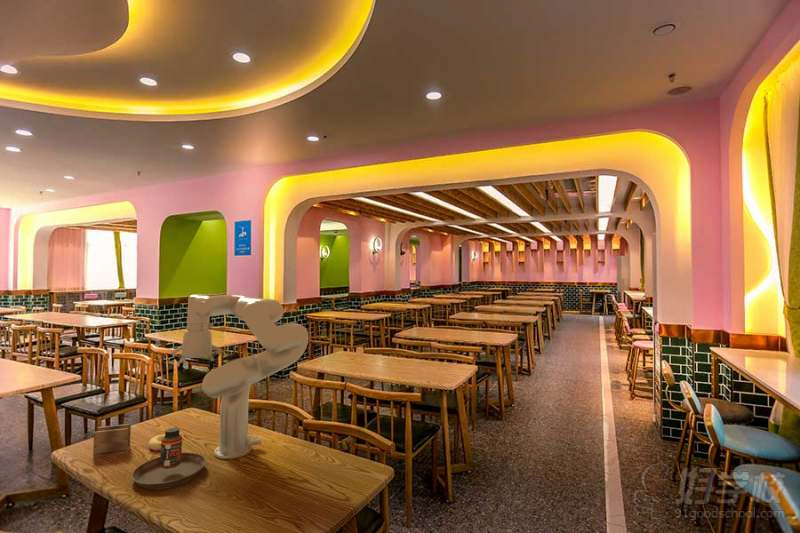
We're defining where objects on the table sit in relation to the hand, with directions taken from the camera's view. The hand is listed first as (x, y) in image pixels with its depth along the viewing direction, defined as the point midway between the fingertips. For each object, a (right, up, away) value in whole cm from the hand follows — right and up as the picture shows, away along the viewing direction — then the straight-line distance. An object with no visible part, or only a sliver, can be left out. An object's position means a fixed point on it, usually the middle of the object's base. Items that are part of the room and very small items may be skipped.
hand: (196, 372), depth 157 cm
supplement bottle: (+4, -24, -24) cm, 34 cm away
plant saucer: (+4, -28, -25) cm, 37 cm away
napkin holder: (-25, -26, -10) cm, 38 cm away
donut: (-10, -27, -4) cm, 29 cm away
